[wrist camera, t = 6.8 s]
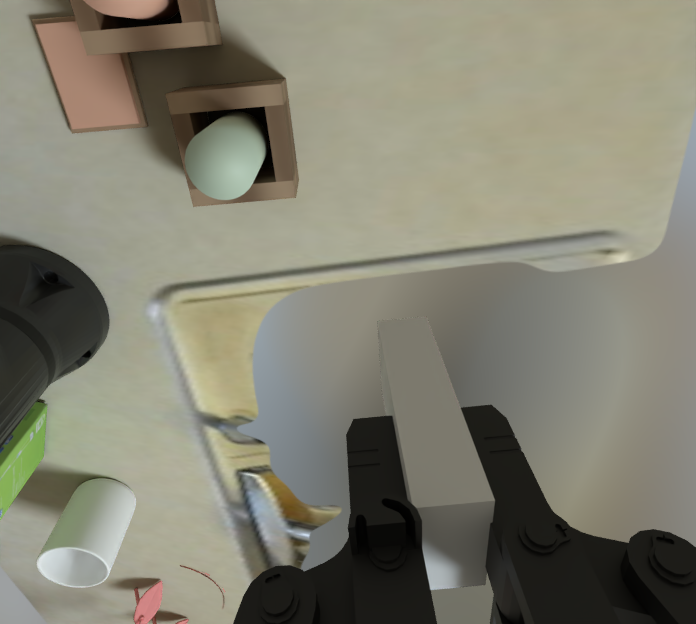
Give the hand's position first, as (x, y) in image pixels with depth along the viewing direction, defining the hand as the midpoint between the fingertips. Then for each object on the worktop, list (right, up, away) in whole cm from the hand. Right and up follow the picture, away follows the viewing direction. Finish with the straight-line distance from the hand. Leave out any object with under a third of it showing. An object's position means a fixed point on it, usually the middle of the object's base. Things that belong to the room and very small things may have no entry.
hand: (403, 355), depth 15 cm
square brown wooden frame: (-11, +18, +29) cm, 36 cm away
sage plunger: (-11, +16, +26) cm, 33 cm away
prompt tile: (-24, +22, +26) cm, 41 cm away
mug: (-37, -27, +54) cm, 70 cm away
